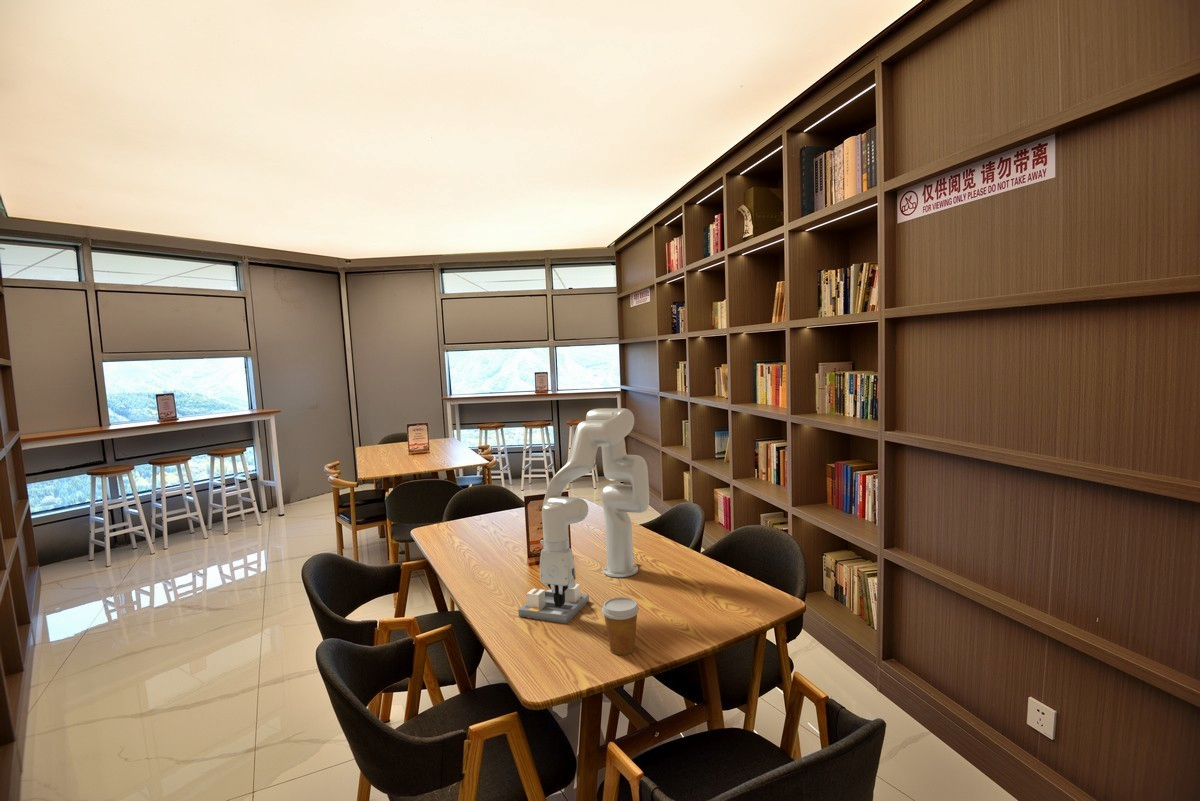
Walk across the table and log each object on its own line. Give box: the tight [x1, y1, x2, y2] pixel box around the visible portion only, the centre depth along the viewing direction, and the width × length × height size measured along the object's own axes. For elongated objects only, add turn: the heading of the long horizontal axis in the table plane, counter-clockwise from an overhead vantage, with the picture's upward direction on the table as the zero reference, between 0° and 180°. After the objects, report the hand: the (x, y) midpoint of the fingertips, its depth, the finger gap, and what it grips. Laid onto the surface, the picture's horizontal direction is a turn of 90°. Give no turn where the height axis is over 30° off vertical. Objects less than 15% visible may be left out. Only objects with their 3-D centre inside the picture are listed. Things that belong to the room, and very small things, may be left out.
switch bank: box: [517, 588, 590, 624], centre depth 169 cm, size 16×16×2 cm
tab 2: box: [565, 583, 581, 603], centre depth 170 cm, size 4×4×5 cm
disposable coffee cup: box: [601, 596, 640, 656], centre depth 142 cm, size 10×10×12 cm
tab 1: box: [526, 588, 546, 609], centre depth 167 cm, size 4×4×5 cm
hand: (559, 605), depth 164 cm, fingers closed
